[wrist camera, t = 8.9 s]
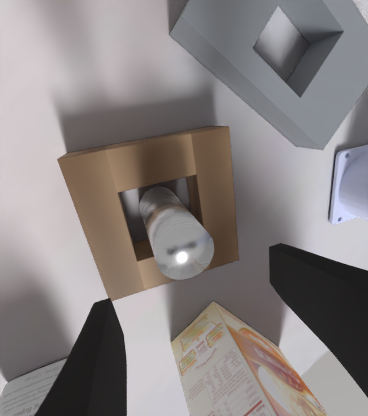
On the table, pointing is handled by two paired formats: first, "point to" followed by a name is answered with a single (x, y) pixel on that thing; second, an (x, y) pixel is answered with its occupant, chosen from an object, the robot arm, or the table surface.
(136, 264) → the walnut seat block
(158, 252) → the metal axle
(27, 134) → the table surface
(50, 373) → the skincare box
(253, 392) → the coffeecake box
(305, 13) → the bored beam
